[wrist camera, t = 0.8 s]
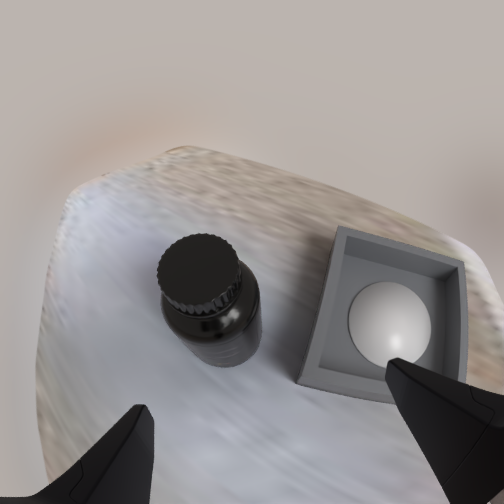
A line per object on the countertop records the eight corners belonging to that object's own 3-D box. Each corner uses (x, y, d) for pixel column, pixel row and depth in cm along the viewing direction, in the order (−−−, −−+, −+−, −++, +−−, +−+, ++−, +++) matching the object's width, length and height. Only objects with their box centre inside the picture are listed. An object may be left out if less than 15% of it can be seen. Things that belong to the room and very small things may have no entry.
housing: (439, 409, 19) (463, 403, 15) (295, 384, 22) (301, 376, 19) (447, 280, 27) (463, 261, 23) (331, 249, 30) (338, 225, 27)
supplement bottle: (192, 301, 27) (153, 220, 17) (261, 300, 27) (258, 216, 17) (186, 368, 23) (129, 319, 13) (262, 370, 23) (260, 322, 13)
